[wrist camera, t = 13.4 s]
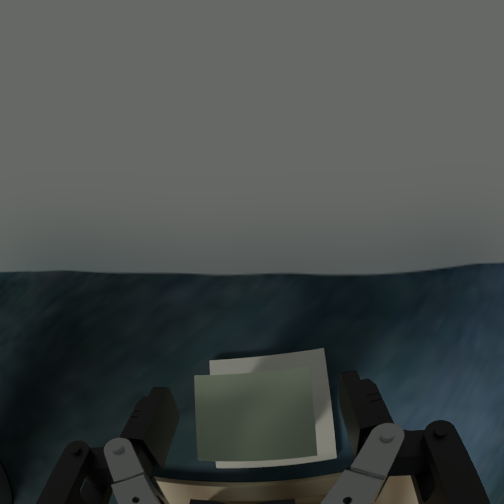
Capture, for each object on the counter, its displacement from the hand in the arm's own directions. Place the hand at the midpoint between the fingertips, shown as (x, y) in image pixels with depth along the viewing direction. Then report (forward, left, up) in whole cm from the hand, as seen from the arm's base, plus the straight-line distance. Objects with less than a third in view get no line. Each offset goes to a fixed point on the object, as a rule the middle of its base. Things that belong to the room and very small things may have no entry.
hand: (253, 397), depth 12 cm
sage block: (0, -1, -9) cm, 9 cm away
